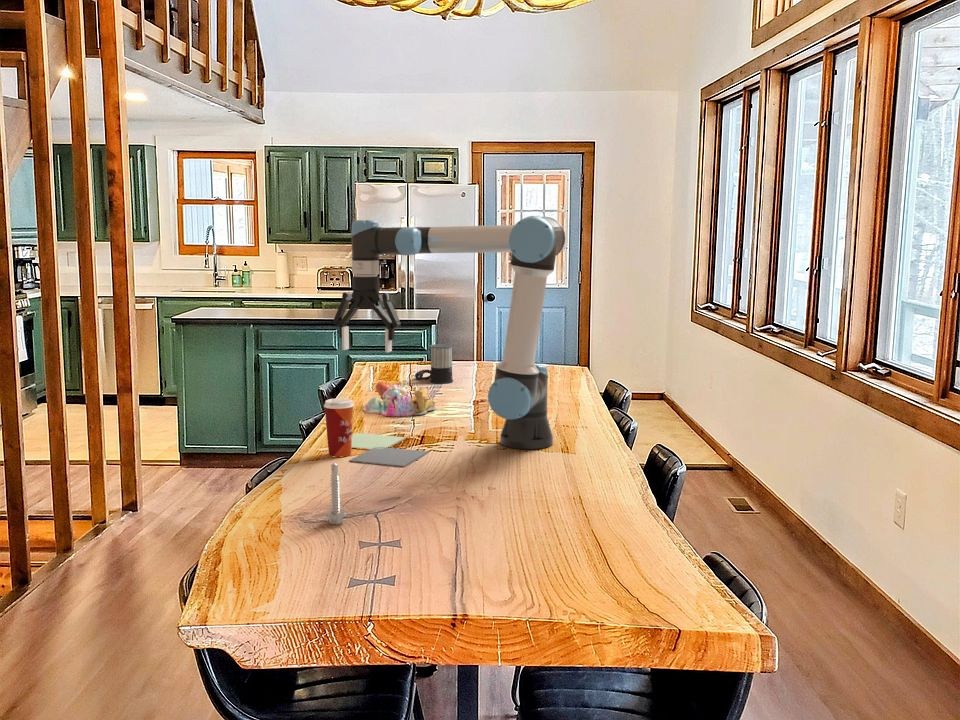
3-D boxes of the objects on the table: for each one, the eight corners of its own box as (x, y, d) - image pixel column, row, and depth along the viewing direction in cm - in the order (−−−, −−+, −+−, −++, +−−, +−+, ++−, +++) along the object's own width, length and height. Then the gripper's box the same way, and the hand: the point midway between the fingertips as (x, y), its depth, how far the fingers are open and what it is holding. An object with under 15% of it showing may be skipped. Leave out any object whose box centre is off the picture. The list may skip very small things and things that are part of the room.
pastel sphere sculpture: (440, 404, 316) (440, 378, 315) (430, 418, 293) (430, 390, 292) (370, 403, 319) (370, 377, 317) (355, 417, 296) (354, 389, 294)
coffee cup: (349, 459, 241) (348, 404, 239) (320, 457, 243) (318, 402, 241) (359, 451, 249) (358, 398, 247) (331, 449, 251) (330, 397, 249)
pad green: (405, 438, 264) (405, 437, 264) (381, 451, 250) (381, 449, 249) (356, 434, 270) (356, 433, 270) (330, 446, 255) (330, 445, 255)
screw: (319, 523, 189) (336, 517, 193) (334, 528, 186) (352, 522, 190) (317, 463, 187) (335, 458, 191) (333, 467, 184) (351, 462, 188)
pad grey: (428, 452, 248) (428, 451, 248) (404, 467, 233) (404, 465, 233) (376, 447, 253) (376, 446, 253) (349, 461, 238) (349, 460, 238)
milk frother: (452, 384, 356) (452, 346, 354) (412, 383, 356) (412, 346, 354) (454, 378, 370) (453, 342, 368) (415, 377, 370) (415, 342, 368)
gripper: (319, 275, 253) (321, 350, 256) (400, 277, 245) (401, 354, 248) (333, 274, 260) (334, 346, 263) (411, 275, 252) (412, 351, 255)
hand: (366, 350), depth 256 cm, fingers open, 13 cm apart
